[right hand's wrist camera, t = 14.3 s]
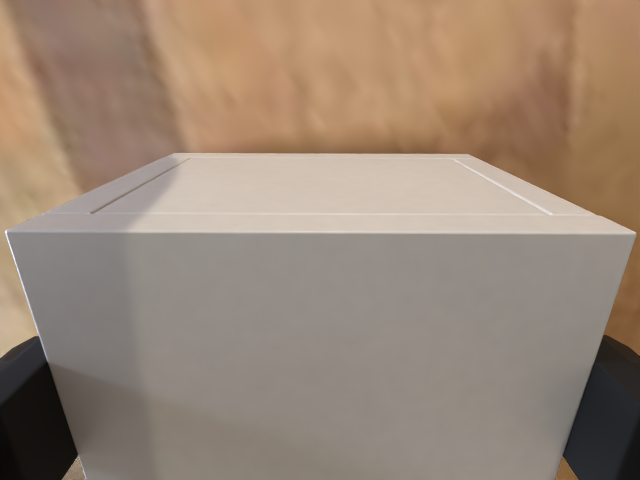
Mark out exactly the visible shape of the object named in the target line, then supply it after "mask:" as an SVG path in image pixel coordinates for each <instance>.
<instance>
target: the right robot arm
mask: <svg viewBox="0 0 640 480" xmlns="http://www.w3.org/2000/svg"><path fill="white" fill-rule="evenodd" d="M77 456H78V453H77V450H76V447H75V444H74V441H73V438H72V435H71V432H70V429H69V426H68V423H67V420H66V417H65V414H64V411H63V407H62V404H61V401H60V398H59V395H58V392H57V389H56V386H55V383H54V380H53V377H52V374H51V371H50V368H49V365H48V362H47V359H46V356H45V353H44V350H43V346H42V343H41V340H40V337H39V336H34V337H33V338H31V339H29V340H27V341H25V342H23V343H21V344H20V345H18V346H16V347H14V348H12V349H11V350H10V351H9V352H7V353H6V354H5V355H4V356H3V357H1V358H0V480H62V478H63V477H64V475H65V474H66V472H67V471H68V469H69V468H70V466H71V465H72V464H73V462H74V461H75V459H76V458H77ZM563 457H564V458H565V460H566V461H567V463H568V464H569V466H570V467H571V469H572V470H573V472H574V473H575V475H576V476H577V478H578V479H579V480H640V356H639V355H638V354H636V353H635V352H634V351H633V350H632V349H630V348H629V347H628V346H626V345H624V344H622V343H620V342H618V341H616V340H614V339H613V338H611V337H609V336H607V335H603V337H602V340H601V343H600V346H599V349H598V352H597V355H596V358H595V361H594V364H593V367H592V370H591V373H590V376H589V379H588V382H587V385H586V388H585V391H584V394H583V397H582V400H581V403H580V406H579V409H578V412H577V415H576V418H575V421H574V424H573V427H572V430H571V433H570V436H569V439H568V442H567V445H566V448H565V451H564V454H563Z"/></svg>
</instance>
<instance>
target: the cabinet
mask: <svg viewBox="0 0 640 480" xmlns="http://www.w3.org/2000/svg"><path fill="white" fill-rule="evenodd" d="M5 233H6V236H7V239H8V242H9V245H10V248H11V252H12V255H13V258H14V261H15V264H16V267H17V270H18V273H19V276H20V279H21V282H22V285H23V288H24V291H25V294H26V297H27V301H28V304H29V307H30V310H31V313H32V316H33V319H34V322H35V325H36V328H37V331H38V334H39V337H40V340H41V343H42V346H43V350H44V353H45V356H46V359H47V362H48V365H49V368H50V371H51V374H52V377H53V380H54V383H55V386H56V389H57V392H58V395H59V398H60V401H61V404H62V407H63V411H64V414H65V417H66V420H67V423H68V426H69V429H70V432H71V435H72V438H73V441H74V444H75V447H76V450H77V453H78V457H79V460H80V463H81V466H82V469H83V472H84V475H85V478H86V480H555V478H556V475H557V472H558V469H559V466H560V463H561V460H562V457H563V454H564V451H565V448H566V445H567V442H568V439H569V436H570V433H571V430H572V427H573V424H574V421H575V418H576V415H577V412H578V409H579V406H580V403H581V400H582V397H583V394H584V391H585V388H586V385H587V382H588V379H589V376H590V373H591V370H592V367H593V364H594V361H595V358H596V355H597V352H598V349H599V346H600V343H601V340H602V337H603V334H604V331H605V328H606V325H607V322H608V319H609V316H610V313H611V310H612V307H613V304H614V301H615V298H616V295H617V292H618V289H619V286H620V283H621V280H622V278H623V275H624V272H625V269H626V266H627V263H628V260H629V257H630V254H631V251H632V248H633V245H634V242H635V239H636V236H637V233H636V232H634V231H632V230H630V229H628V228H626V227H624V226H621V225H619V224H617V223H615V222H613V221H611V220H609V219H607V218H604V217H602V216H597V215H596V214H594V213H592V212H590V211H587V210H585V209H583V208H581V207H579V206H577V205H575V204H573V203H570V202H568V201H566V200H564V199H562V198H560V197H558V196H556V195H554V194H551V193H549V192H547V191H545V190H543V189H541V188H539V187H537V186H535V185H532V184H530V183H528V182H526V181H524V180H522V179H520V178H518V177H515V176H513V175H511V174H509V173H507V172H505V171H503V170H501V169H499V168H496V167H494V166H492V165H490V164H488V163H486V162H484V161H482V160H479V159H477V158H475V157H473V156H471V155H469V154H284V153H173V154H171V155H169V156H167V157H165V158H161V159H159V160H157V161H155V162H153V163H151V164H148V165H146V166H144V167H142V168H140V169H138V170H135V171H133V172H131V173H129V174H127V175H125V176H122V177H120V178H118V179H116V180H114V181H112V182H109V183H107V184H105V185H103V186H101V187H99V188H96V189H94V190H92V191H90V192H88V193H86V194H83V195H81V196H79V197H77V198H75V199H73V200H70V201H68V202H66V203H64V204H62V205H60V206H57V207H55V208H53V209H51V210H49V211H47V212H44V213H43V214H40V215H38V216H36V217H34V218H32V219H29V220H27V221H25V222H23V223H21V224H19V225H16V226H14V227H12V228H10V229H8V230H6V232H5Z"/></svg>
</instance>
